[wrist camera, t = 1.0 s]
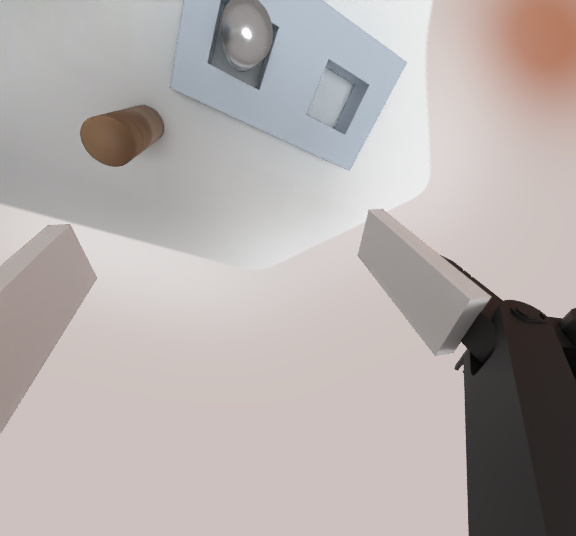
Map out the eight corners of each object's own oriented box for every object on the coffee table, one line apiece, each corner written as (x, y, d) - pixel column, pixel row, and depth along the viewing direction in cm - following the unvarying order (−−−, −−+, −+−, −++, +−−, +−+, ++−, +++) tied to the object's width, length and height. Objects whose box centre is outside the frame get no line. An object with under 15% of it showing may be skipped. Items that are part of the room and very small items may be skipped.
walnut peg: (127, 133, 25) (79, 156, 17) (131, 99, 24) (80, 107, 16) (161, 145, 26) (131, 173, 18) (166, 114, 25) (135, 128, 17)
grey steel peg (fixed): (219, 60, 23) (214, 48, 15) (229, 19, 22) (229, -19, 14) (251, 77, 24) (262, 74, 16) (262, 39, 23) (280, 15, 15)
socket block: (177, 87, 24) (169, 88, 21) (203, -65, 19) (198, -91, 16) (338, 162, 30) (349, 170, 28) (387, 64, 26) (407, 62, 23)
